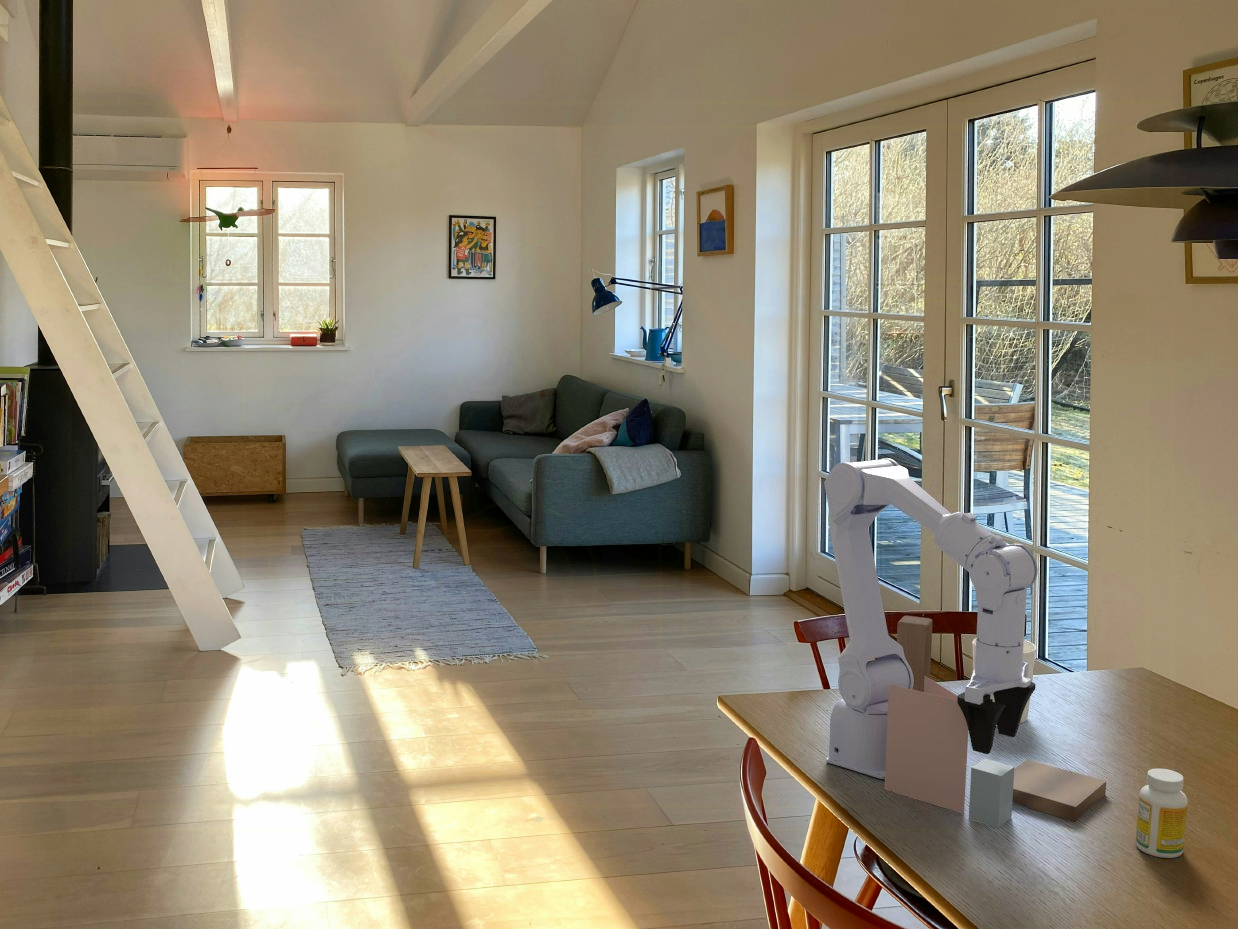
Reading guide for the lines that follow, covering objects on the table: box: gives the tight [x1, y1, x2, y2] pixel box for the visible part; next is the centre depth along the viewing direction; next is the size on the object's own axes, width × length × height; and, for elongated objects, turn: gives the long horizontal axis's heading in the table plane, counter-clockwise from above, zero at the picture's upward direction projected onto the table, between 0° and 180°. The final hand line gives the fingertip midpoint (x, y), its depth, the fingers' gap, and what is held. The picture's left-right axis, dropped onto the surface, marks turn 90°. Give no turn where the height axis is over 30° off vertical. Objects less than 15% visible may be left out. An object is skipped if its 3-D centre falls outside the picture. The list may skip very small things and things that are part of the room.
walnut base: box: [1012, 759, 1107, 822], centre depth 157 cm, size 11×11×2 cm
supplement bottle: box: [1135, 768, 1189, 859], centre depth 142 cm, size 5×5×10 cm
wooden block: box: [896, 615, 934, 692], centre depth 178 cm, size 9×4×18 cm, turn 64°
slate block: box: [968, 758, 1015, 829], centre depth 150 cm, size 4×4×7 cm
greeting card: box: [884, 676, 969, 815], centre depth 155 cm, size 11×7×15 cm, turn 15°
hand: (994, 743), depth 149 cm, fingers open, 7 cm apart
